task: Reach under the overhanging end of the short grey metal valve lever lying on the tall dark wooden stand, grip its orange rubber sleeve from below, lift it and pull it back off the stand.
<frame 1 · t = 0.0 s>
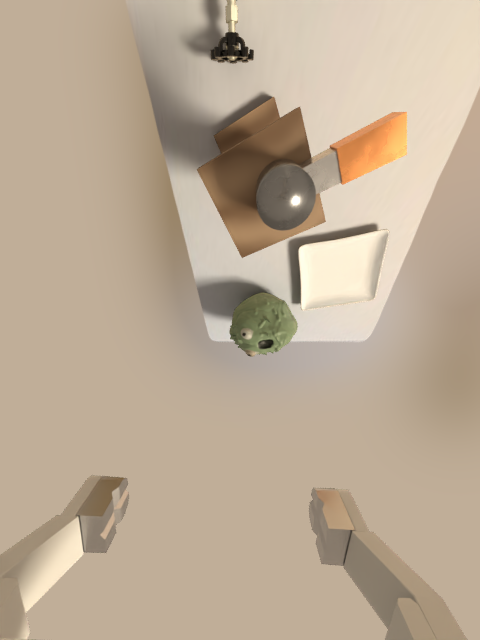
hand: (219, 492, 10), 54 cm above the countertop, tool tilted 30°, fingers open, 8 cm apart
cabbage: (262, 302, 71), on the countertop
valve: (233, 3, 34), on the countertop
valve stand: (259, 163, 47), on the countertop
salad plate: (336, 269, 63), on the countertop
valve lever: (323, 167, 25), point 26 cm above the countertop, touching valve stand
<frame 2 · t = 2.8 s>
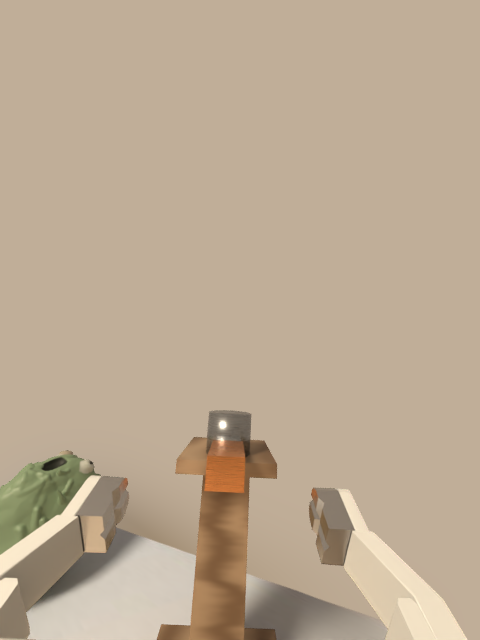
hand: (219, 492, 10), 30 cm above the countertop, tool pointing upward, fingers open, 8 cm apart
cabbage: (16, 592, 38), on the countertop
valve lever: (226, 464, 26), point 26 cm above the countertop, touching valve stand
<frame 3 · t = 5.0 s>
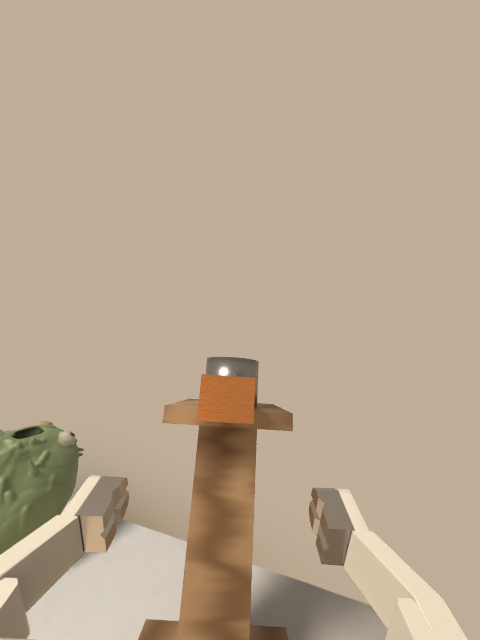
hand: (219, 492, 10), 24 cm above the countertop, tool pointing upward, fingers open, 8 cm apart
valve lever: (228, 410, 20), point 26 cm above the countertop, touching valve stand
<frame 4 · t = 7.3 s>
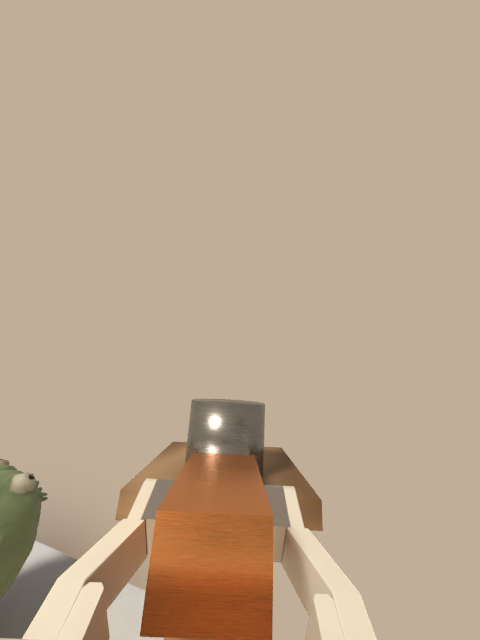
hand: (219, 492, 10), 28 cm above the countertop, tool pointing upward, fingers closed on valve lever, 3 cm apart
valve lever: (220, 503, 13), point 26 cm above the countertop, touching gripper, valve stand
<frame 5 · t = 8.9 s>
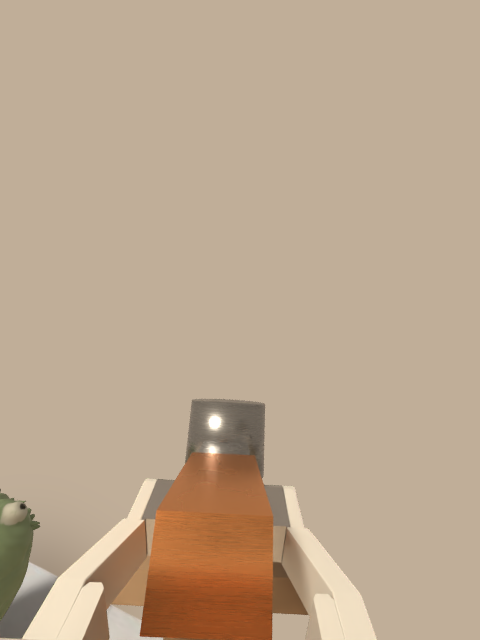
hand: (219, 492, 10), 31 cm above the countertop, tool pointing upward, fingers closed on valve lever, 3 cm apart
valve lever: (220, 503, 13), point 30 cm above the countertop, touching gripper
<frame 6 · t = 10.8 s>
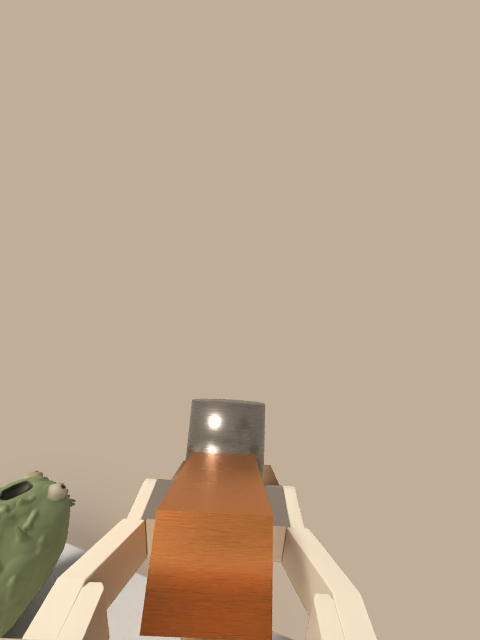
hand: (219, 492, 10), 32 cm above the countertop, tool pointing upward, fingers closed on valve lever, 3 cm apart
valve lever: (220, 503, 13), point 30 cm above the countertop, touching gripper
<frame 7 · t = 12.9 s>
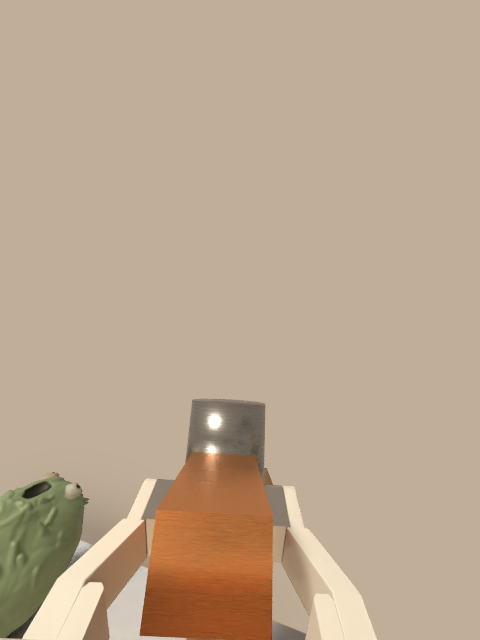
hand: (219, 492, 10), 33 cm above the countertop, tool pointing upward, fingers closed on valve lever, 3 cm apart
valve lever: (220, 503, 13), point 32 cm above the countertop, touching gripper
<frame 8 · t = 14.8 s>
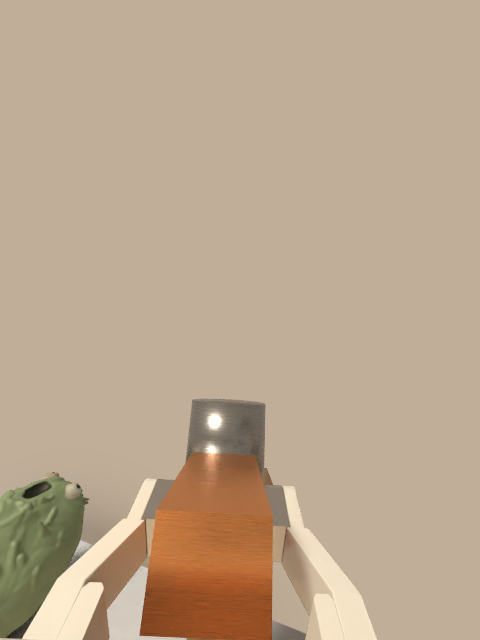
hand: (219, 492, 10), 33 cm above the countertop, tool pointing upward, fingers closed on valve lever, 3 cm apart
valve lever: (220, 503, 13), point 32 cm above the countertop, touching gripper
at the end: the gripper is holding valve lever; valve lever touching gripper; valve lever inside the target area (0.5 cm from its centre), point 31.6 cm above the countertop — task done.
